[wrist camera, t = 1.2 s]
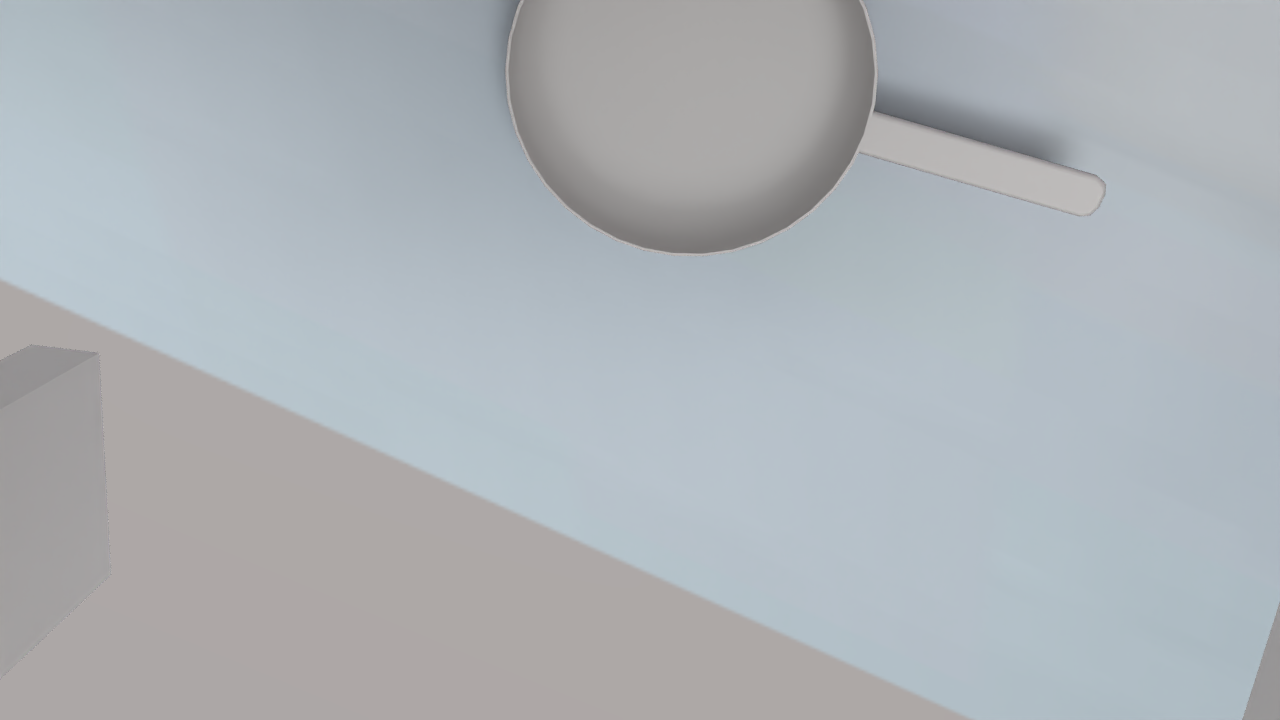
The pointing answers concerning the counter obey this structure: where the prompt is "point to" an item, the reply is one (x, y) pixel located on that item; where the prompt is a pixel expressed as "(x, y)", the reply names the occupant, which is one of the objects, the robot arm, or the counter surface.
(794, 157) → the saucepan
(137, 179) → the counter surface
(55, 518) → the robot arm
